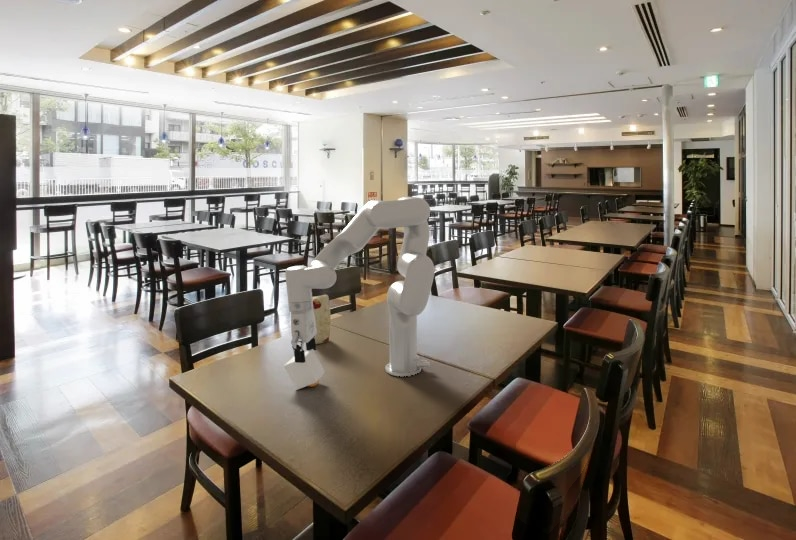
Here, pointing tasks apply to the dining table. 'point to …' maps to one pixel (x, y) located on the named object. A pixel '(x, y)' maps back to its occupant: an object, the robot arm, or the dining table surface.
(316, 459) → the dining table surface
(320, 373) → the off-white matte cube
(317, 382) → the ball
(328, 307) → the food model
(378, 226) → the robot arm
